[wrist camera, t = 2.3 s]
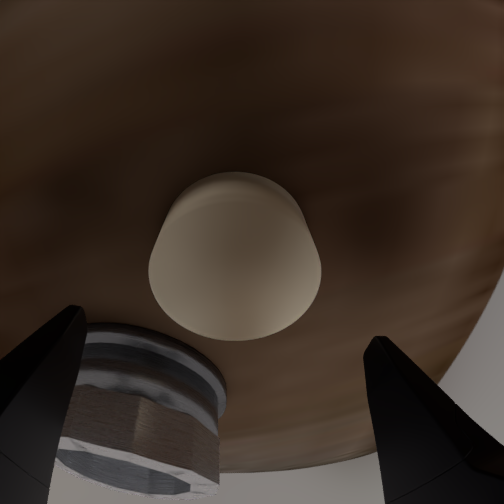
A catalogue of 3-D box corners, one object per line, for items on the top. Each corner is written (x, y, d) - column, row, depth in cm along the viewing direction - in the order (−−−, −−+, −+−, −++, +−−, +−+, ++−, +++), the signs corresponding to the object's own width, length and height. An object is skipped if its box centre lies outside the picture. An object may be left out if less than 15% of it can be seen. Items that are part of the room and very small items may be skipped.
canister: (80, 406, 21) (62, 476, 16) (36, 306, 15) (-13, 403, 9) (218, 429, 23) (217, 505, 17) (238, 338, 17) (240, 461, 11)
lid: (163, 285, 15) (151, 331, 12) (168, 161, 11) (148, 191, 9) (287, 299, 15) (296, 345, 13) (321, 183, 12) (343, 218, 10)
